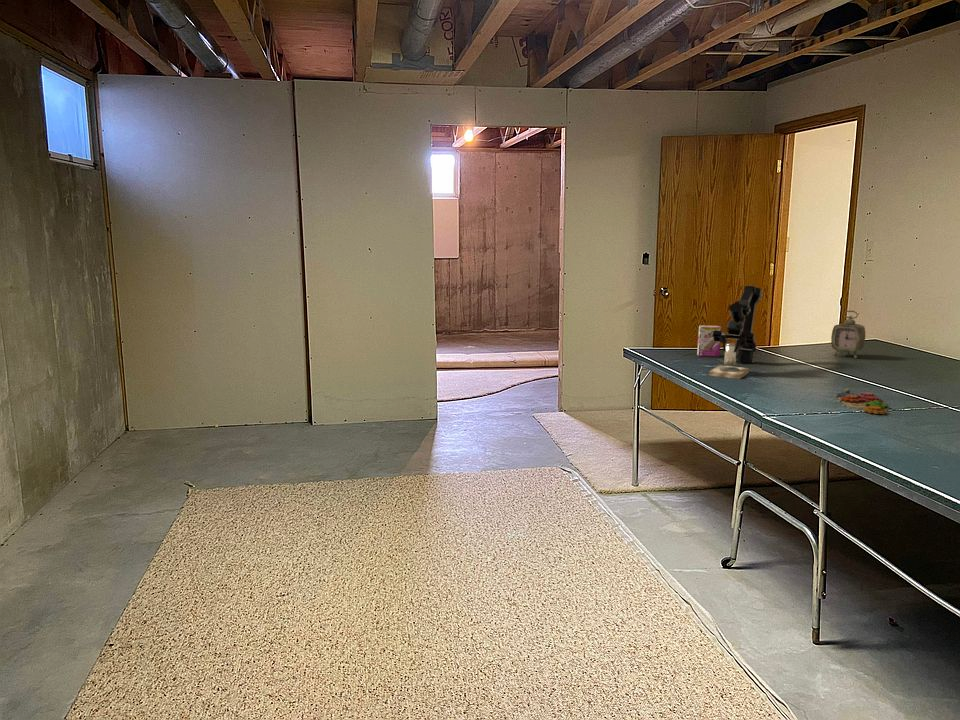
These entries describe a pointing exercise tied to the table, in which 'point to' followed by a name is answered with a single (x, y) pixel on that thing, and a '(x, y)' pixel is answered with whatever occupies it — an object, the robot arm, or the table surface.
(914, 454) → the table surface
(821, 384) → the table surface
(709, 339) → the candy bar box
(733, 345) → the canister
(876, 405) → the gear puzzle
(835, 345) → the tabletop clock
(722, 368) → the plinth
